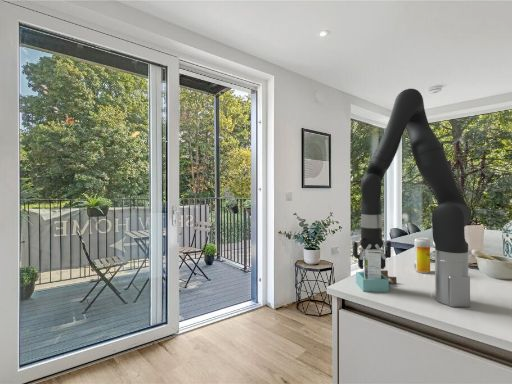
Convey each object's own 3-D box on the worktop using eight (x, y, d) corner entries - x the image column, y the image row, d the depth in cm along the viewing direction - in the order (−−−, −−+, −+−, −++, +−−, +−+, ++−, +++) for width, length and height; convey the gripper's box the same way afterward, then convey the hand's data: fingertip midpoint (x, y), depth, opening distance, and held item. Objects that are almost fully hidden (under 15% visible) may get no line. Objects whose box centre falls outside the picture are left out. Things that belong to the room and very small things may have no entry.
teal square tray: (388, 291, 107) (388, 279, 107) (363, 291, 107) (363, 279, 107) (379, 283, 116) (379, 271, 116) (356, 283, 116) (356, 272, 116)
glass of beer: (433, 273, 126) (433, 239, 126) (419, 274, 126) (418, 239, 126) (425, 269, 132) (425, 237, 132) (411, 269, 132) (411, 237, 132)
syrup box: (364, 283, 115) (363, 246, 115) (380, 284, 113) (379, 247, 113) (364, 287, 110) (364, 249, 110) (381, 289, 108) (381, 250, 108)
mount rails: (399, 285, 112) (399, 279, 112) (383, 285, 112) (383, 279, 112) (387, 276, 124) (387, 270, 124) (373, 276, 125) (372, 270, 125)
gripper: (354, 227, 108) (355, 271, 108) (394, 227, 107) (395, 271, 107) (349, 224, 115) (350, 266, 115) (386, 224, 114) (387, 265, 115)
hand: (371, 268), depth 111 cm, fingers open, 7 cm apart
